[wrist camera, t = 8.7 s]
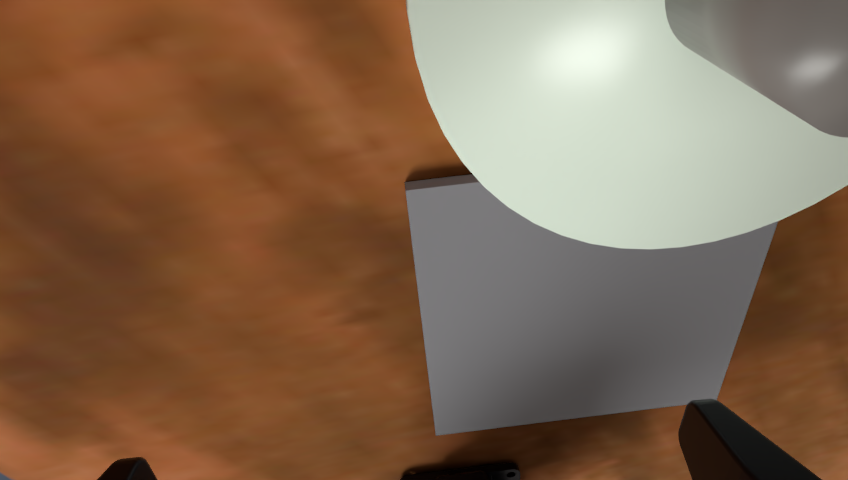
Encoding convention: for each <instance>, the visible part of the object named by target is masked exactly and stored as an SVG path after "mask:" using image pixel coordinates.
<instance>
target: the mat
mask: <svg viewBox="0 0 848 480" xmlns="http://www.w3.org/2000/svg"><path fill="white" fill-rule="evenodd" d="M405 189H406V198H407V206H408V214H409V222H410V230H411V238H412V246H413V254H414V262H415V271H416V279H417V287H418V295H419V303H420V311H421V319H422V327H423V335H424V343H425V352H426V360H427V368H428V376H429V384H430V392H431V400H432V408H433V416H434V424H435V433H436V436H437V435H445V434H453V433H461V432H469V431H478V430H486V429H494V428H502V427H510V426H518V425H526V424H534V423H542V422H550V421H558V420H566V419H574V418H582V417H590V416H598V415H606V414H614V413H622V412H630V411H638V410H646V409H654V408H662V407H670V406H678V405H686V404H688V403H689V402H690V401H692V400H701V399H715V400H717V397H718V394H719V391H720V388H721V385H722V382H723V379H724V377H725V374H726V371H727V368H728V365H729V362H730V359H731V356H732V353H733V350H734V348H735V345H736V342H737V339H738V336H739V333H740V330H741V327H742V324H743V321H744V319H745V316H746V313H747V310H748V307H749V304H750V301H751V298H752V295H753V292H754V290H755V287H756V284H757V281H758V278H759V275H760V272H761V269H762V266H763V263H764V260H765V258H766V255H767V252H768V249H769V246H770V243H771V240H772V237H773V234H774V231H775V229H776V226H777V223H778V221H777V222H774V223H771V224H769V225H766V226H763V227H761V228H758V229H755V230H753V231H750V232H747V233H744V234H740V235H736V236H733V237H729V238H725V239H722V240H718V241H714V242H709V243H703V244H697V245H692V246H686V247H678V248H664V249H625V248H615V247H608V246H602V245H595V244H589V243H586V242H582V241H579V240H576V239H572V238H569V237H565V236H562V235H559V234H557V233H555V232H552V231H550V230H548V229H546V228H543V227H541V226H539V225H537V224H534V223H533V222H531V221H529V220H528V219H526V218H525V217H523V216H521V215H520V214H518V213H516V212H515V211H513V210H512V209H510V208H508V207H507V206H506V205H505V204H504V203H502V202H501V201H500V200H499V199H498V198H496V197H495V196H494V195H493V194H492V193H491V192H489V191H488V190H487V189H486V188H485V187H484V186H483V185H482V184H481V183H480V182H479V181H478V180H477V178H476V177H475V176H474V175H473V174H469V175H461V176H452V177H444V178H435V179H427V180H418V181H410V182H405Z"/></svg>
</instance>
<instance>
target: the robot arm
mask: <svg viewBox="0 0 848 480" xmlns="http://www.w3.org/2000/svg"><path fill="white" fill-rule="evenodd" d="M679 442H680V446H681V449H682V451H683V454H684V457H685V460H686V463H687V466H688V468H689V471H690V474H691V477H692V480H822V479H820V478H819V477H818V476H816V475H815V474H814V473H812V472H811V471H810V470H808V469H807V468H806V467H805V466H803V465H802V464H801V463H799V462H798V461H797V460H795V459H794V458H793V457H791V456H790V455H789V454H787V453H786V452H785V451H783V450H782V449H781V448H780V447H778V446H777V445H776V444H774V443H773V442H772V441H770V440H769V439H768V438H766V437H765V436H764V435H762V434H761V433H760V432H759V431H757V430H756V429H755V428H753V427H752V426H751V425H749V424H748V423H747V422H745V421H744V420H743V419H741V418H740V417H739V416H738V415H736V414H735V413H734V412H732V411H731V410H730V409H728V408H727V407H726V406H724V405H723V404H722V403H720V402H719V401H717V400H715V399H701V400H692V401H690V402H689V403H688V404H687V406H686V409H685V413H684V416H683V419H682V422H681V425H680V428H679ZM97 480H157V478H156V477H155V475H154V473H153V471H152V469H151V468H150V466H149V464H148V462H147V461H146V460H145V459H144V458H142V457H136V458H126V459H120V460H117V461H115V462H114V463H113V464H112V465H110V466H109V468H108V469H107V470H106V471H105V472H104V473H103V474H102V475H101V476H100V477H99V478H98V479H97ZM400 480H520V471H519V467H518V465H517V464H516V463H503V464H495V465H487V466H479V467H471V468H463V469H455V470H447V471H439V472H431V473H423V474H415V475H408V476H404V477H402V478H401V479H400Z"/></svg>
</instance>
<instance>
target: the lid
mask: <svg viewBox="0 0 848 480" xmlns="http://www.w3.org/2000/svg"><path fill="white" fill-rule="evenodd" d="M406 8H407V14H408V20H409V26H410V32H411V38H412V44H413V49H414V53H415V58H416V62H417V65H418V69H419V72H420V75H421V78H422V82H423V85H424V88H425V91H426V95H427V98H428V101H429V103H430V105H431V107H432V109H433V112H434V114H435V116H436V118H437V120H438V122H439V125H440V127H441V129H442V131H443V133H444V135H445V136H446V138H447V139H448V141H449V143H450V144H451V146H452V147H453V149H454V150H455V152H456V153H457V155H458V156H459V158H460V159H461V161H462V162H463V164H464V165H465V166H466V167H467V168H468V169H469V170H470V172H471V173H472V174H473V175H474V176H475V177H476V178H477V180H478V181H479V182H480V183H481V184H482V185H483V186H484V187H485V188H486V189H487V190H488V191H489V192H491V193H492V194H493V195H494V196H495V197H496V198H498V199H499V200H500V201H501V202H502V203H504V204H505V205H506V206H507V207H508V208H510V209H512V210H513V211H515V212H516V213H518V214H520V215H521V216H523V217H525V218H526V219H528V220H529V221H531V222H533V223H534V224H537V225H539V226H541V227H543V228H546V229H548V230H550V231H552V232H555V233H557V234H559V235H562V236H565V237H569V238H572V239H576V240H579V241H582V242H586V243H589V244H595V245H602V246H608V247H615V248H625V249H664V248H678V247H686V246H692V245H697V244H703V243H709V242H714V241H718V240H722V239H725V238H729V237H733V236H736V235H740V234H744V233H747V232H750V231H753V230H755V229H758V228H761V227H763V226H766V225H769V224H771V223H774V222H777V221H779V220H782V219H784V218H786V217H788V216H790V215H792V214H795V213H797V212H799V211H801V210H803V209H805V208H807V207H809V206H811V205H814V204H816V203H817V202H819V201H821V200H823V199H824V198H826V197H828V196H829V195H831V194H833V193H835V192H836V191H838V190H840V189H842V188H843V187H845V186H847V185H848V0H406Z"/></svg>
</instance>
